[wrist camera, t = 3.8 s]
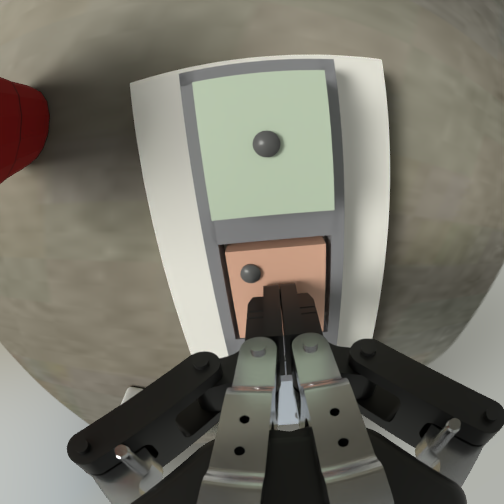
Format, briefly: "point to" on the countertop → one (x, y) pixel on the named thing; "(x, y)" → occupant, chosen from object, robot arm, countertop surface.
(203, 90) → the key one
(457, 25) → the countertop surface
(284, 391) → the key two
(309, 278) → the key three
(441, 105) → the countertop surface
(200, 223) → the keypad
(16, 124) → the plastic cup
